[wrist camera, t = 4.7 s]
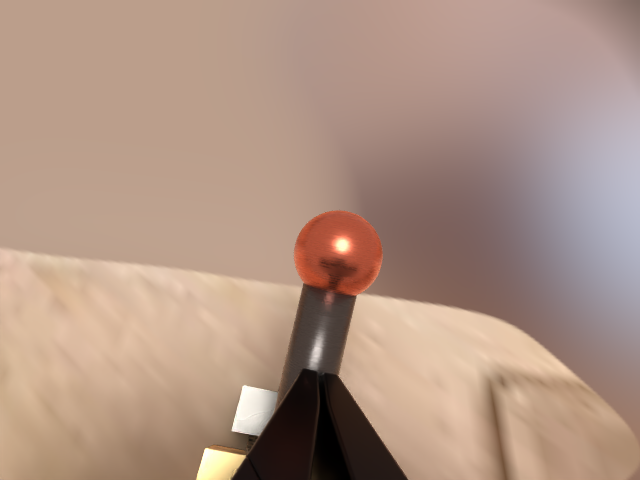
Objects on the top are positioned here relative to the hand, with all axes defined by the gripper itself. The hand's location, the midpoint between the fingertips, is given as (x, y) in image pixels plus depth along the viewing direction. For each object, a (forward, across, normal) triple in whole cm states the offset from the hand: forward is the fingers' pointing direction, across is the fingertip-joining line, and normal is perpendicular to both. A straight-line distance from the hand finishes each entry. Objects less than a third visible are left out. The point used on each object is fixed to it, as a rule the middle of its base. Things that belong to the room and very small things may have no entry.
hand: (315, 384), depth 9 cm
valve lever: (-2, 0, +8) cm, 8 cm away
